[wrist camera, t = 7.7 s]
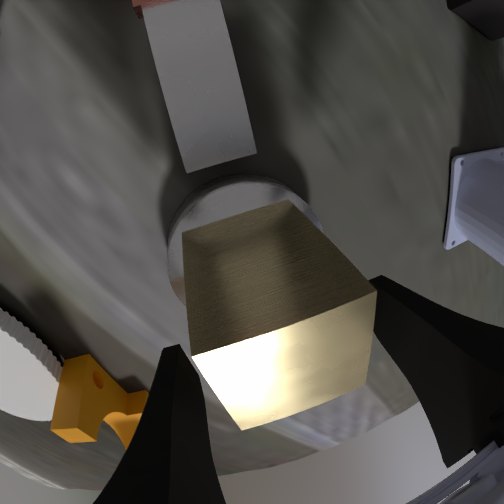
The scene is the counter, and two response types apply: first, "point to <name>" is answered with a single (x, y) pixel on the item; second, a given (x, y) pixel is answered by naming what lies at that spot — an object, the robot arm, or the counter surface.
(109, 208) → the counter surface
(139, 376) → the counter surface
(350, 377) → the tan rectangular block
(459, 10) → the phone stand
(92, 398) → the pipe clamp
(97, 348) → the counter surface
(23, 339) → the plastic lid
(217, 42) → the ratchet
